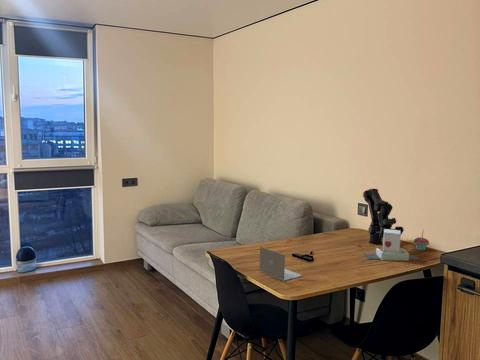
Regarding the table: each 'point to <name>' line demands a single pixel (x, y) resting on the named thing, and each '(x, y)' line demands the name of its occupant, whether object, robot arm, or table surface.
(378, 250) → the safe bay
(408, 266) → the table surface
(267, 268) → the laptop
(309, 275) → the table surface
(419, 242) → the cupcake
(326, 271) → the table surface
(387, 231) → the supplement box
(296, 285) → the table surface
